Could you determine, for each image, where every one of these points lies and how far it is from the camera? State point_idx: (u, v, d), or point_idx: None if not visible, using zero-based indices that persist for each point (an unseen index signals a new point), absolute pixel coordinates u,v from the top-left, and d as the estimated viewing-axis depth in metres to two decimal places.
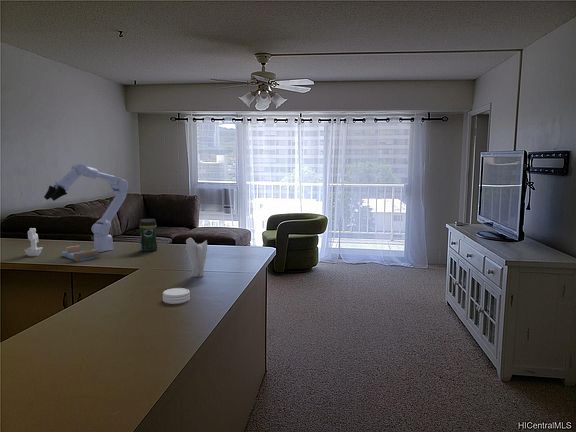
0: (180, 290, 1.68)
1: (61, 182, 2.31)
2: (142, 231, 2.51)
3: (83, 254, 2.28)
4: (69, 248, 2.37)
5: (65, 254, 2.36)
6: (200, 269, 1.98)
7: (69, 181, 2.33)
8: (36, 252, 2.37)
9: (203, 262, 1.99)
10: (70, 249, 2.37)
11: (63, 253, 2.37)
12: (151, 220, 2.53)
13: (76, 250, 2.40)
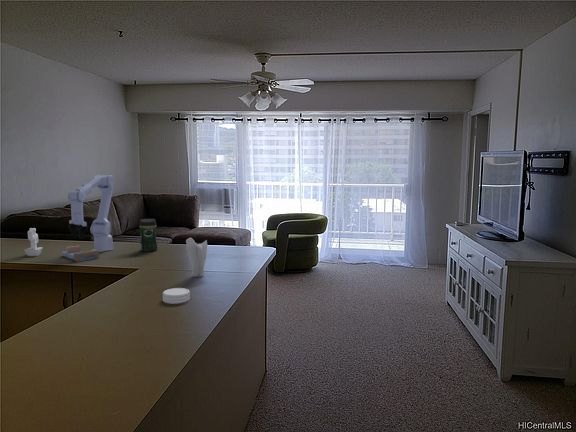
0: (180, 290, 1.68)
1: (75, 220, 2.30)
2: (142, 231, 2.51)
3: (83, 254, 2.28)
4: (69, 248, 2.37)
5: (65, 254, 2.36)
6: (200, 269, 1.98)
7: (79, 214, 2.31)
8: (36, 252, 2.37)
9: (203, 262, 1.99)
10: (70, 249, 2.37)
11: (63, 253, 2.37)
12: (151, 220, 2.53)
13: (76, 250, 2.40)
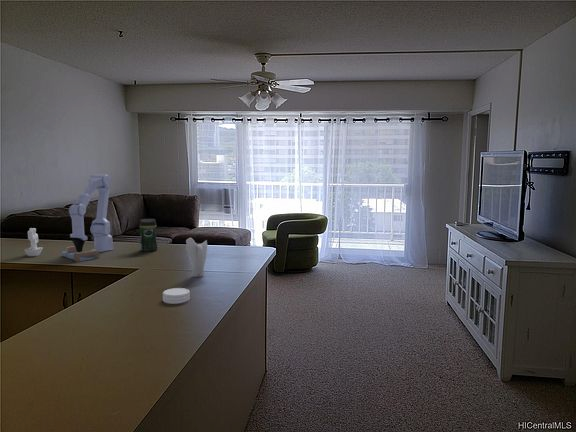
0: (180, 290, 1.68)
1: (75, 234, 2.31)
2: (142, 231, 2.51)
3: (83, 254, 2.28)
4: (69, 248, 2.37)
5: (65, 254, 2.36)
6: (200, 269, 1.98)
7: (80, 228, 2.32)
8: (36, 252, 2.37)
9: (203, 262, 1.99)
10: (70, 249, 2.37)
11: (63, 253, 2.37)
12: (151, 220, 2.53)
13: None
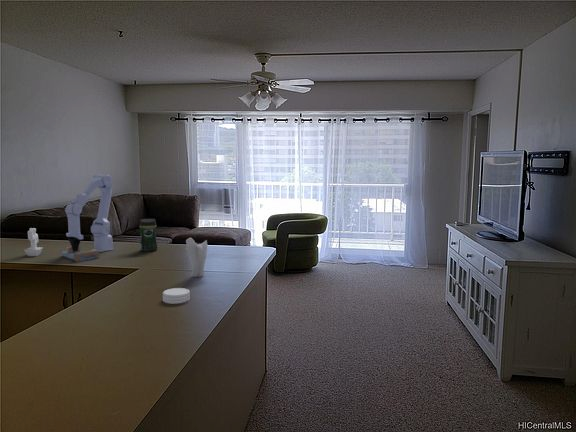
0: (180, 290, 1.68)
1: (72, 233, 2.34)
2: (142, 231, 2.51)
3: (83, 254, 2.28)
4: (69, 248, 2.37)
5: (65, 254, 2.36)
6: (200, 269, 1.98)
7: (76, 227, 2.35)
8: (36, 252, 2.37)
9: (203, 262, 1.99)
10: (70, 249, 2.37)
11: (63, 253, 2.37)
12: (151, 220, 2.53)
13: None
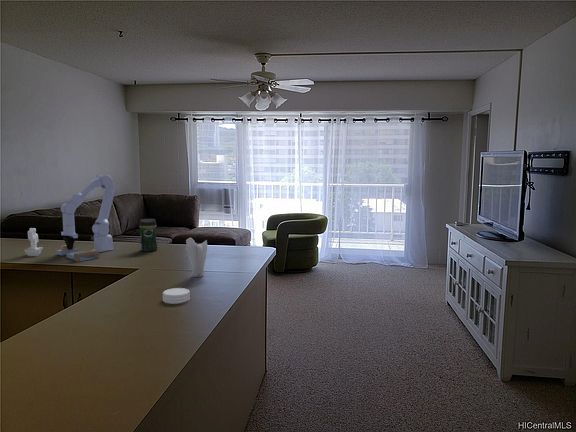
0: (180, 290, 1.68)
1: (66, 232, 2.38)
2: (142, 231, 2.51)
3: (83, 254, 2.28)
4: (64, 247, 2.40)
5: (60, 253, 2.39)
6: (200, 269, 1.98)
7: (71, 226, 2.38)
8: (36, 252, 2.37)
9: (203, 262, 1.99)
10: (65, 247, 2.41)
11: (58, 252, 2.41)
12: (151, 220, 2.53)
13: None
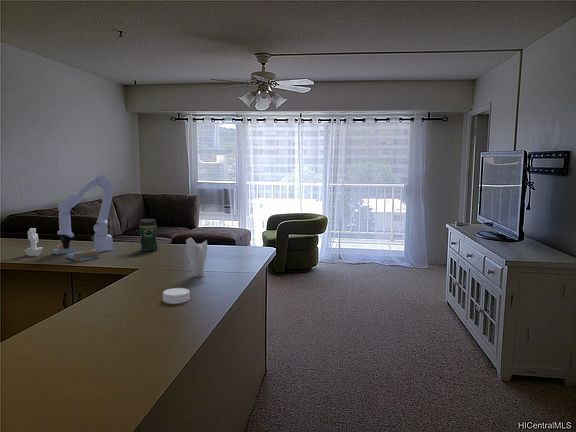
0: (180, 290, 1.68)
1: (62, 231, 2.40)
2: (142, 231, 2.51)
3: (83, 254, 2.28)
4: (60, 246, 2.43)
5: (56, 251, 2.42)
6: (200, 269, 1.98)
7: (67, 225, 2.41)
8: (36, 252, 2.37)
9: (203, 262, 1.99)
10: (61, 246, 2.43)
11: (54, 250, 2.43)
12: (151, 220, 2.53)
13: None
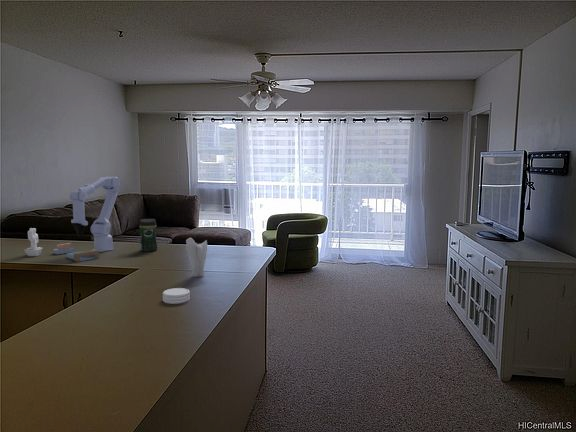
0: (180, 290, 1.68)
1: (76, 219, 2.35)
2: (142, 231, 2.51)
3: (83, 254, 2.28)
4: (60, 246, 2.43)
5: (56, 251, 2.42)
6: (200, 269, 1.98)
7: (81, 213, 2.35)
8: (36, 252, 2.37)
9: (203, 262, 1.99)
10: (61, 246, 2.43)
11: (54, 250, 2.43)
12: (151, 220, 2.53)
13: (67, 248, 2.46)
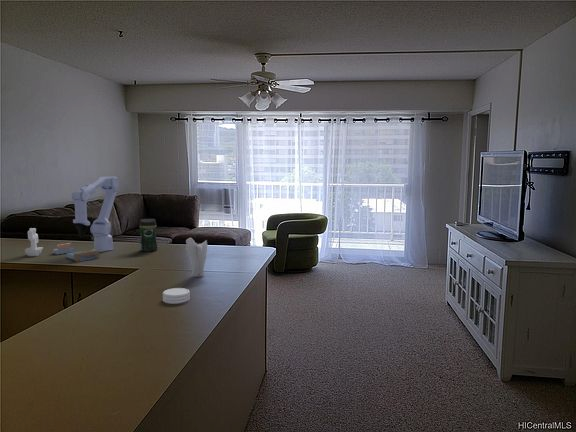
0: (180, 290, 1.68)
1: (78, 219, 2.34)
2: (142, 231, 2.51)
3: (83, 254, 2.28)
4: (60, 246, 2.43)
5: (56, 251, 2.42)
6: (200, 269, 1.98)
7: (83, 213, 2.35)
8: (36, 252, 2.37)
9: (203, 262, 1.99)
10: (61, 246, 2.43)
11: (54, 250, 2.43)
12: (151, 220, 2.53)
13: (67, 248, 2.46)
